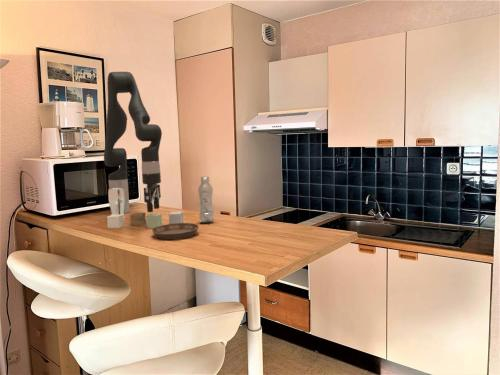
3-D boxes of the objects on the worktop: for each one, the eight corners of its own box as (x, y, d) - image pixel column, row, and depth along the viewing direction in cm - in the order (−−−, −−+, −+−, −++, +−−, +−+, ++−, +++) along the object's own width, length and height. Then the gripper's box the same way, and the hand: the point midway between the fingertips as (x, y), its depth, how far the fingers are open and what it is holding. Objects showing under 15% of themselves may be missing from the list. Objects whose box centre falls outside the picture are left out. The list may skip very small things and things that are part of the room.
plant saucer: (152, 243, 141) (152, 234, 141) (151, 232, 158) (151, 225, 158) (202, 238, 146) (201, 230, 145) (195, 228, 163) (195, 221, 162)
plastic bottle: (215, 220, 176) (213, 176, 174) (212, 224, 169) (210, 177, 167) (201, 221, 177) (199, 176, 174) (197, 224, 170) (195, 178, 168)
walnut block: (135, 223, 176) (134, 212, 175) (146, 223, 176) (145, 212, 175) (130, 226, 171) (130, 214, 170) (142, 225, 171) (141, 214, 170)
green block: (150, 225, 171) (150, 213, 171) (162, 225, 171) (161, 213, 170) (146, 227, 166) (146, 216, 166) (158, 227, 166) (157, 216, 165)
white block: (112, 225, 173) (112, 214, 172) (123, 225, 172) (123, 214, 172) (107, 228, 168) (107, 216, 167) (119, 228, 167) (118, 216, 167)
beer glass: (116, 222, 178) (113, 189, 177) (107, 221, 183) (104, 189, 181) (129, 220, 184) (126, 188, 182) (120, 218, 188) (117, 187, 186)
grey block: (172, 223, 175) (171, 211, 174) (183, 222, 174) (183, 211, 174) (169, 225, 170) (168, 214, 169) (180, 225, 169) (180, 213, 169)
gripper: (148, 171, 173) (150, 207, 175) (136, 173, 159) (138, 213, 161) (164, 170, 173) (167, 207, 174) (154, 173, 158) (156, 213, 160)
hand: (153, 210), depth 168 cm, fingers open, 8 cm apart
